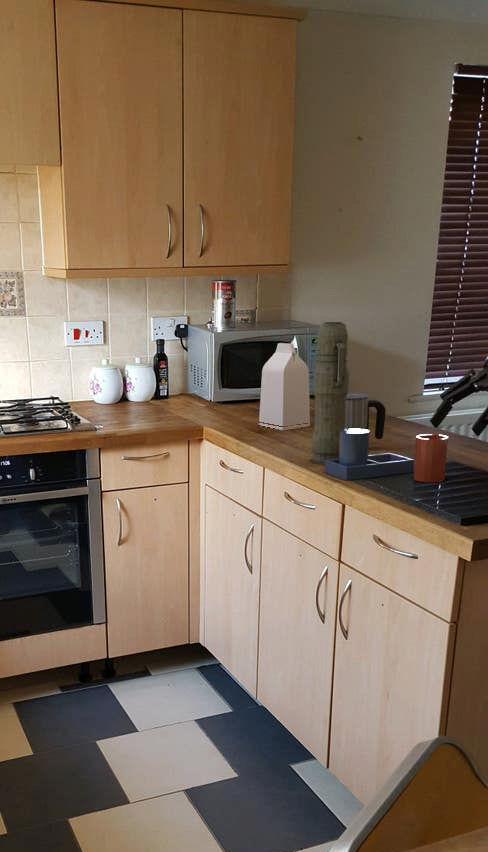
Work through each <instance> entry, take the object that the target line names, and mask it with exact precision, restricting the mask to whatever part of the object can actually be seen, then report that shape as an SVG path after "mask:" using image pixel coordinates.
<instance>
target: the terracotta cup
mask: <svg viewBox="0 0 488 852" xmlns="http://www.w3.org/2000/svg"><path fill="white" fill-rule="evenodd" d="M448 443H449V436H447V435H443V434H436V433H435V434H434V433H431V434H429V433H428V434H419V435H416V437H415V450H414V471H413V480H414V481H416V482H422V483H441V482H444V481H445V478H446V470H447V456H448Z"/></svg>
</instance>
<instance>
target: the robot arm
mask: <svg viewBox="0 0 488 852" xmlns="http://www.w3.org/2000/svg"><path fill="white" fill-rule="evenodd" d="M479 392H487V393H488V356H487V357H486V359H485V360H484V361H483V367H482V369H481V370H480V371H479V372H478V371H476V370H475V369H474V368H470V369H469V371H467V373H466V374H465V375H464V376H463V377H461V378H460V379H458V380H457V381H456V382H454V383H453V384H452V385H450V386H449V387H448V388H447V389H446V390H444V391H443V392H442V393H440V394H439V397H440V399H441V400H442V402H441V403H440V404H439V406H438V407H437V409H436V410H435V412H434V414H433V415H432V417H430V419H429V422H430V424H431V425H432V426H433V427H434V429H438V428H439V426H440V425H441V424H442V423H443V421H444V420H445V419H446V418H447V416H448V415H449V413H450V412H451V411H452V409H453V408H454V406H453V405H455V404H457V403H458V402H460V401H462V400H463V399H466V398H467V397H469V396H471V395H472V394H477V393H479ZM487 427H488V406H487V407H486V408H485V409H484V410H483V412H482V413H481V414H480V416H479V417H478V418H477V420H476V421H475V422H474V424H473V425H472V426H471V428H470V429H471V430H472V432H473V433H474V435H475V436H477V437H480V435H481V434H482V433H483V432H484V431H485V430H486V428H487Z"/></svg>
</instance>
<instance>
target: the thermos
mask: <svg viewBox="0 0 488 852" xmlns="http://www.w3.org/2000/svg"><path fill="white" fill-rule="evenodd" d="M316 339H317V340H316V355H317V359H316V365H315V368H314V372H313V395H314V430H313V433H312V436H311V452H312V458H311V462H313V463H315V464H320V465H325V460H333V459H339V438H340V430H343V429H345V421H346V396H347V394H349V387H350V383H349V382H350V370H349V366H348V360H347V358H348V357H347V355H348V350H349V347H348V346H349V333H348V329H347V325H346V323H344V322H343V321H327V322H326V321H324V322H323V323H321V324H320V326H319V329H318V332H317V335H316Z"/></svg>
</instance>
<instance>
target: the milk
mask: <svg viewBox="0 0 488 852" xmlns="http://www.w3.org/2000/svg"><path fill="white" fill-rule="evenodd" d="M259 401H260V402H259V415H258V426H259V425H261V426H260V427H262V426H265V427H264V428H267V427H270V428H269V429H273V428H275V429H274V430H278V429H279V431H287V430H288V431H289V430H294V429H295V430H296V429H302V428H308V426H309V427H311V409H310V408H311V406H310V405H311V404H310V371H309V366H308V365H307V363H306V362H304V360H303V359H302V358H301V357H300V356H299V355H298V353H296V348H295V345H294V343H285V342H279V343H277V346H276V349H275V352H274V353H273V354H272V356H271V357H270V358H269V359H268V360H267V361H266V362H265V363H264V365H263V367H262V369H261V384H260V400H259ZM259 421H260V422H264V423H269V424H274V425H279V426H288V427H279V426H273V425H268V424H263V423H259ZM303 423H308V424H303ZM296 424H301V425H296ZM289 425H294V426H289ZM301 427H302V428H301Z"/></svg>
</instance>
